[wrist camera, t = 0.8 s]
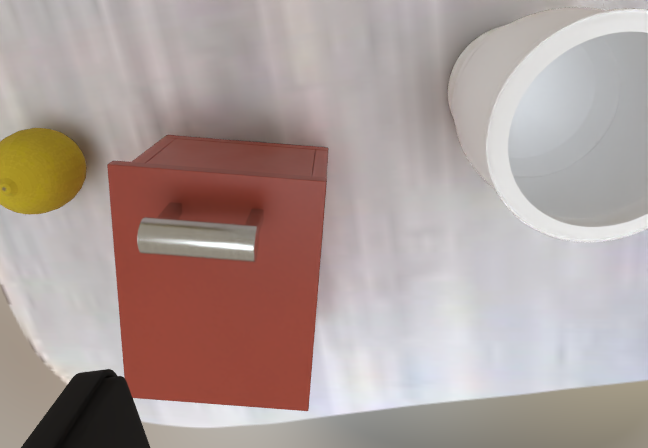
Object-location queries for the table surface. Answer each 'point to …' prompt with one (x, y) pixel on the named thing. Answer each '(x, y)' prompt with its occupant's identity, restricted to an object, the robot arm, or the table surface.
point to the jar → (560, 119)
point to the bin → (237, 155)
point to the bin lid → (217, 282)
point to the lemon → (39, 170)
